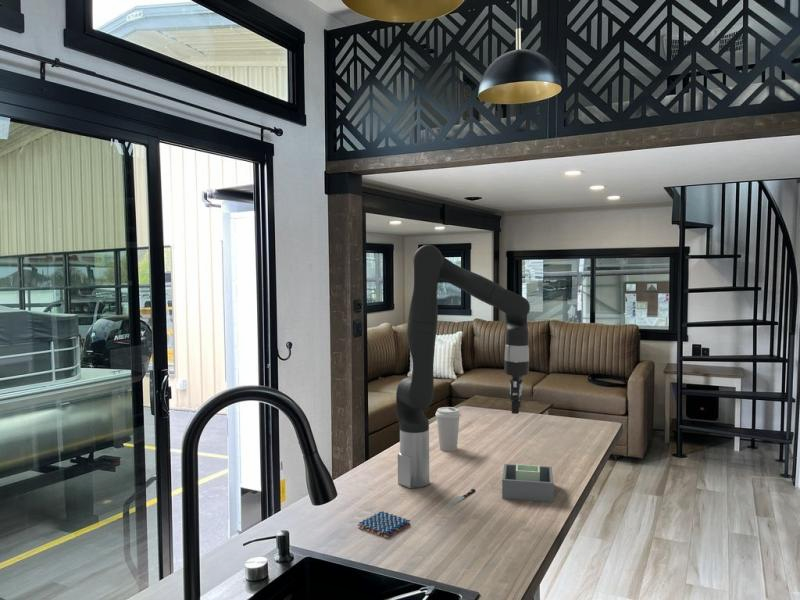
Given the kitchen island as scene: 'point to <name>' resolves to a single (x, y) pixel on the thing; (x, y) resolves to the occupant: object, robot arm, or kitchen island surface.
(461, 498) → the chef's knife
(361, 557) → the kitchen island surface
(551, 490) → the charcoal crate
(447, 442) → the coffee cup
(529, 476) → the sage crate
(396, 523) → the woven mat
